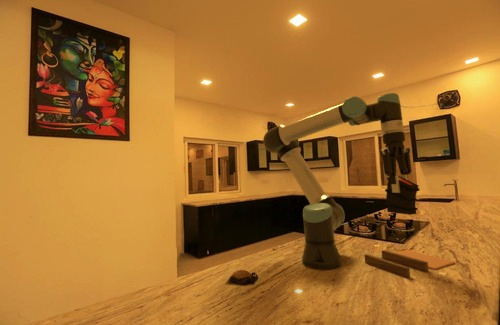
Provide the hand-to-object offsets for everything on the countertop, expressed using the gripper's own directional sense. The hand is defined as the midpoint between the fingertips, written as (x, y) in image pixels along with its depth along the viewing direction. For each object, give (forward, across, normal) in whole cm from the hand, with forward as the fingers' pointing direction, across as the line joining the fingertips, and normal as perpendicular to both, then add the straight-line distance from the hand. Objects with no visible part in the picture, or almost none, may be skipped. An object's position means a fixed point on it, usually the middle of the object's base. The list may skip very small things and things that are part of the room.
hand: (400, 191), depth 92 cm
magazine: (+8, 0, 0) cm, 8 cm away
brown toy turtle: (+27, -62, +17) cm, 69 cm away
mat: (+27, +7, +2) cm, 28 cm away
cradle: (+27, -7, +1) cm, 28 cm away
